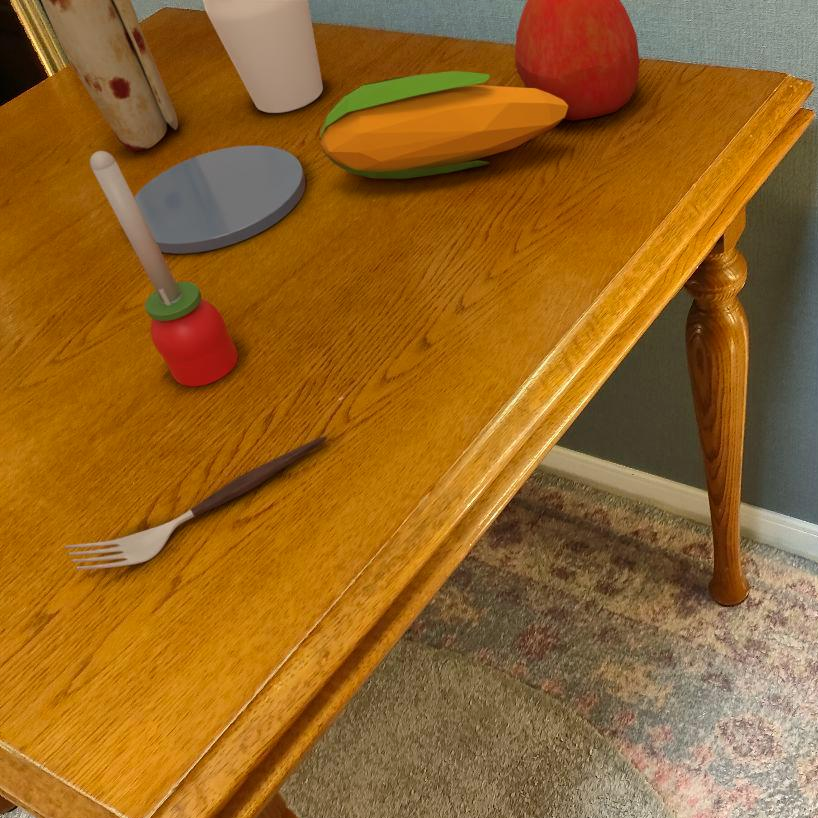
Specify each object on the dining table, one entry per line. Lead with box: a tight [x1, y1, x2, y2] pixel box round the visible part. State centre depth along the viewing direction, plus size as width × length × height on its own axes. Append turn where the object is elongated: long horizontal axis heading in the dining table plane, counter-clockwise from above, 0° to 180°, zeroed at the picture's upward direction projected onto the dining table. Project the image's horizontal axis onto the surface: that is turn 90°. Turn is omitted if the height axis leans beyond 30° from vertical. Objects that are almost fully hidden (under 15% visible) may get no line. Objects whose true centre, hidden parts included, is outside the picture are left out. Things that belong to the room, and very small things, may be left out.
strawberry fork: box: [89, 150, 239, 387], centre depth 63 cm, size 5×5×16 cm
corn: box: [319, 70, 568, 180], centre depth 79 cm, size 7×8×20 cm
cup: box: [202, 0, 324, 114], centre depth 91 cm, size 9×9×12 cm
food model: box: [40, 0, 179, 152], centre depth 87 cm, size 10×7×20 cm
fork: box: [64, 435, 328, 571], centre depth 59 cm, size 3×16×2 cm, turn 125°
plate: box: [133, 144, 307, 255], centre depth 84 cm, size 15×15×1 cm
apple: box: [514, 0, 641, 121], centre depth 82 cm, size 10×10×10 cm
